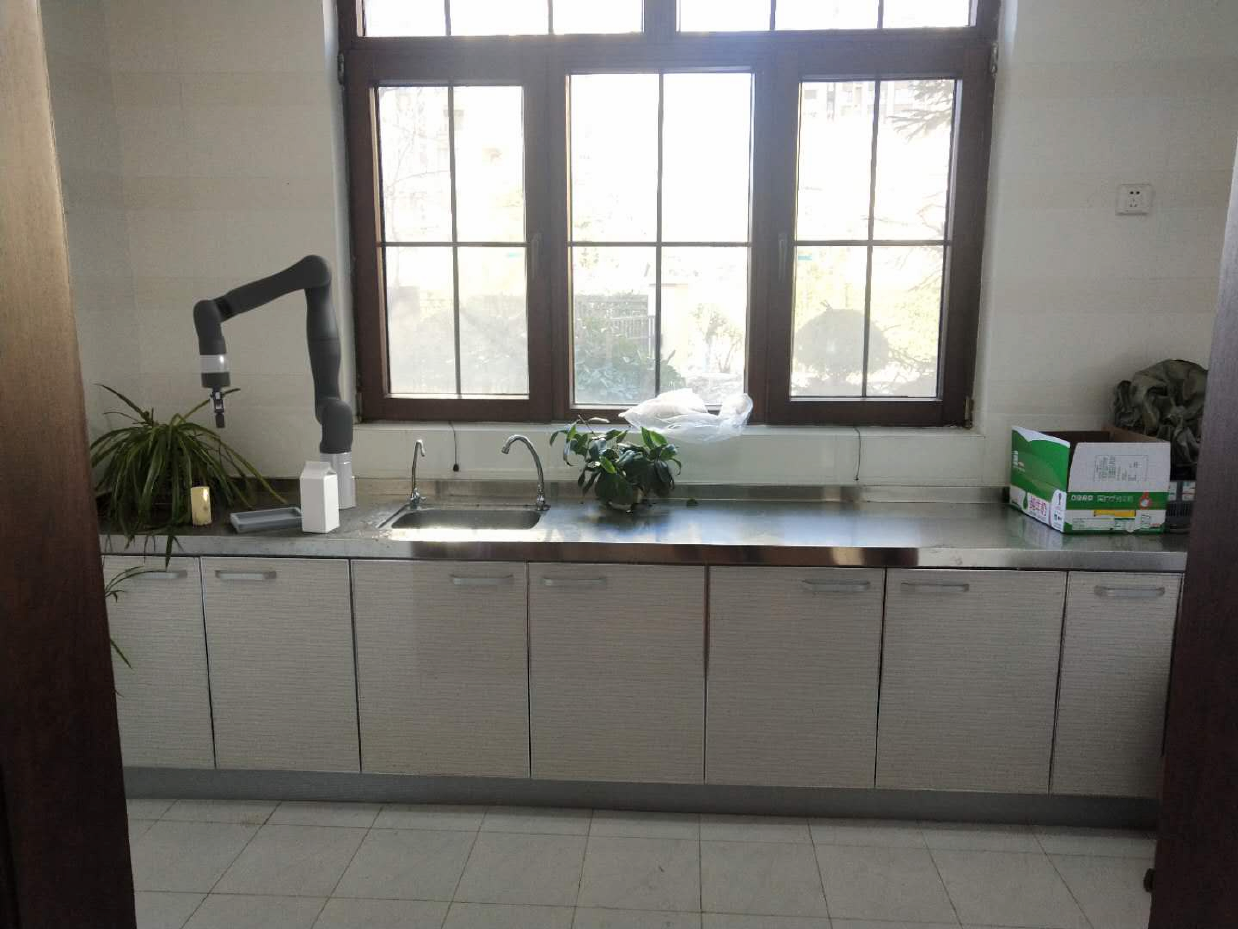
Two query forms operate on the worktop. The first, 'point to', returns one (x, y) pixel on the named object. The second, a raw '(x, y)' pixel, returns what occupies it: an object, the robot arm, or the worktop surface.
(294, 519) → the tray
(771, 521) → the worktop surface
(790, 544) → the worktop surface
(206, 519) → the brass bushing
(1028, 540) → the worktop surface
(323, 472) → the milk carton
